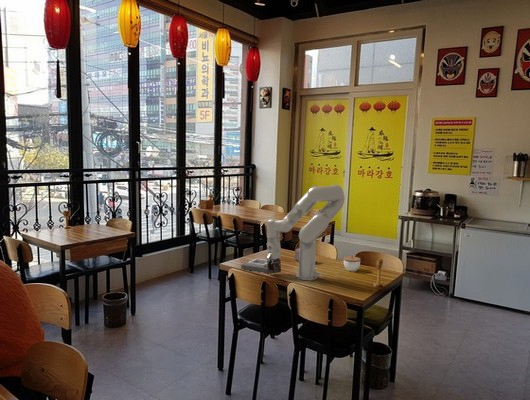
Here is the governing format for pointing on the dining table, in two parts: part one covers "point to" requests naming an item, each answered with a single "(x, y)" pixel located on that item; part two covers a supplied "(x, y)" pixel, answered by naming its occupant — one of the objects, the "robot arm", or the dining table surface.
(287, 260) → the dining table surface
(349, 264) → the lidded jar
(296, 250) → the food item
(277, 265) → the box
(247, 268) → the grey flat block
